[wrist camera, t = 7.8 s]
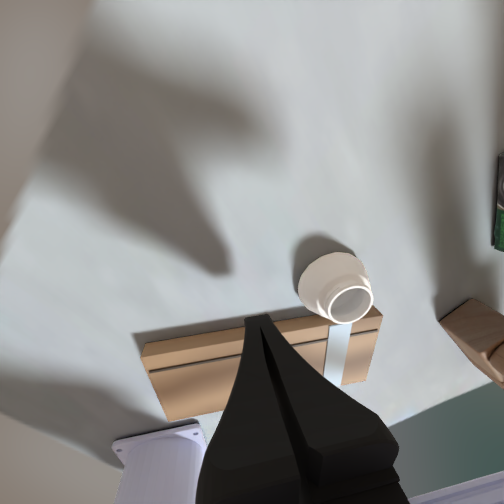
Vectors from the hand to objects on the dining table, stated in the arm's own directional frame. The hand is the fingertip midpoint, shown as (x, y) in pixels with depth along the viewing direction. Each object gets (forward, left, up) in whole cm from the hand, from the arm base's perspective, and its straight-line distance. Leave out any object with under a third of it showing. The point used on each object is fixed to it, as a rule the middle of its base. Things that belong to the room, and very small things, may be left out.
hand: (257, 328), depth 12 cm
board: (-7, -1, -3) cm, 8 cm away
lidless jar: (0, -6, -4) cm, 7 cm away
